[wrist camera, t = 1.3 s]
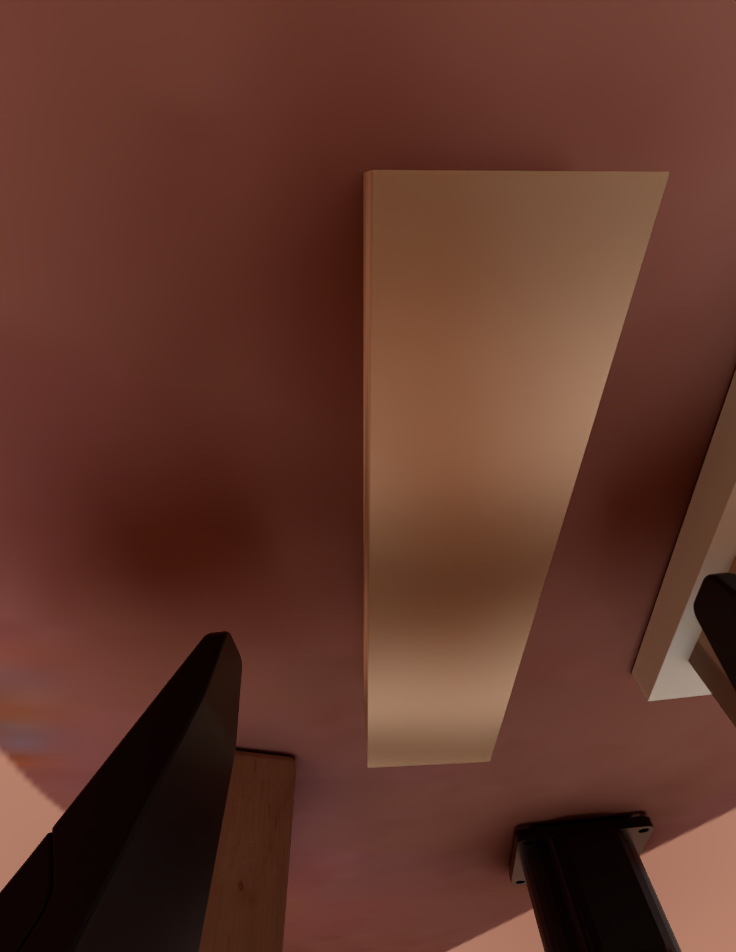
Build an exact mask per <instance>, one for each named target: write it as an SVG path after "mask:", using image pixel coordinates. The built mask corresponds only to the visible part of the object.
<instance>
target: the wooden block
mask: <svg viewBox="0 0 736 952" xmlns="http://www.w3.org/2000/svg"><path fill="white" fill-rule="evenodd" d="M295 777H296V766H295V761H294V759H293V758H291V757H288V756H280V755H271V754H262V753H254V752H245V751H237V750H235V756H234V762H233V768H232V773H231V779H230V784H229V790H228V795H227V801H226V806H225V812H224V817H223V822H222V828H221V833H220V839H219V844H218V850H217V855H216V861H215V866H214V872H213V877H212V882H211V888H210V893H209V899H208V904H207V910H206V915H205V921H204V926H203V931H202V937H201V942H200V948H199V952H282V950H283V937H284V924H285V910H286V897H287V884H288V870H289V857H290V844H291V830H292V817H293V804H294V791H295Z"/></svg>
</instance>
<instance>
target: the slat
mask: <svg viewBox="0 0 736 952" xmlns="http://www.w3.org/2000/svg"><path fill="white" fill-rule="evenodd" d="M669 173H670V172H628V171H481V170H370V171H367V172H363V546H364V701H365V723H366V746H367V768H374V767H394V766H413V765H433V764H452V763H472V762H490V760H491V757H492V753H493V750H494V747H495V744H496V740H497V737H498V734H499V730H500V727H501V724H502V721H503V717H504V714H505V711H506V708H507V704H508V701H509V698H510V694H511V691H512V688H513V685H514V681H515V678H516V675H517V671H518V668H519V665H520V662H521V658H522V655H523V652H524V649H525V645H526V642H527V639H528V635H529V632H530V629H531V626H532V622H533V619H534V616H535V612H536V609H537V606H538V603H539V599H540V596H541V593H542V590H543V586H544V583H545V580H546V576H547V573H548V570H549V567H550V563H551V560H552V557H553V553H554V550H555V547H556V544H557V540H558V537H559V534H560V531H561V527H562V524H563V521H564V517H565V514H566V511H567V508H568V504H569V501H570V498H571V495H572V491H573V488H574V485H575V481H576V478H577V475H578V472H579V468H580V465H581V462H582V458H583V455H584V452H585V449H586V445H587V442H588V439H589V436H590V432H591V429H592V426H593V422H594V419H595V416H596V413H597V409H598V406H599V403H600V399H601V396H602V393H603V390H604V386H605V383H606V380H607V377H608V373H609V370H610V367H611V363H612V360H613V357H614V354H615V350H616V347H617V344H618V340H619V337H620V334H621V331H622V327H623V324H624V321H625V318H626V314H627V311H628V308H629V304H630V301H631V298H632V295H633V291H634V288H635V285H636V281H637V278H638V275H639V272H640V268H641V265H642V262H643V259H644V255H645V252H646V249H647V245H648V242H649V239H650V236H651V232H652V229H653V226H654V222H655V219H656V216H657V213H658V209H659V206H660V203H661V200H662V196H663V193H664V190H665V186H666V183H667V180H668V177H669Z"/></svg>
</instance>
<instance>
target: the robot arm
mask: <svg viewBox="0 0 736 952" xmlns="http://www.w3.org/2000/svg"><path fill="white" fill-rule="evenodd" d="M693 609H694V613H695V616H696V619H697V620H698V622H699V624H700V626H701V628H702V630H703V632H704V634H705V636H706V637H707V639H708V641H709V643H710V645H711V647H712V649H713V651H714V653H715V654H716V656H717V658H718V660H719V662H720V664H721V666H722V668H723V670H724V672H725V673H726V675H727V677H728V679H729V681H730V683H731V685H732V686H733V688H734V690H735V692H736V574H734V573H729V572H725V573H716V574H709V575H707V576H706V577H705V578H704V579H703V581H702V584H701V586H700V588H699V591H698V593H697V596H696V598H695V601H694V604H693ZM241 674H242V662H241V657H240V654H239V652H238V650H237V647H236V645H235V643H234V641H233V638H232V636H231V634H230V633H229V632H227V631H223V632H214V633H209V634H207V635H206V636H204V637H203V639H202V640H201V641H200V642H199V644H198V645H197V646H196V647H195V649H194V650H193V651H192V652H191V654H190V655H189V656H188V658H187V659H186V660H185V661H184V663H183V664H182V665H181V666H180V668H179V669H178V670H177V671H176V673H175V674H174V675H173V676H172V678H171V679H170V680H169V681H168V683H167V684H166V685H165V687H164V688H163V689H162V690H161V692H160V693H159V694H158V695H157V697H156V698H155V699H154V700H153V702H152V703H151V704H150V705H149V707H148V708H147V709H146V710H145V712H144V713H143V714H142V716H141V717H140V718H139V719H138V721H137V722H136V723H135V724H134V726H133V727H132V728H131V729H130V731H129V732H128V733H127V734H126V736H125V737H124V738H123V740H122V741H121V742H120V743H119V745H118V746H117V747H116V748H115V750H114V751H113V752H112V753H111V755H110V756H109V757H108V758H107V760H106V761H105V762H104V763H103V765H102V766H101V767H100V769H99V770H98V771H97V772H96V774H95V775H94V776H93V777H92V779H91V780H90V781H89V782H88V784H87V785H86V786H85V787H84V789H83V790H82V791H81V792H80V794H79V795H78V796H77V798H76V799H75V800H74V801H73V803H72V804H71V805H70V806H69V808H68V809H67V810H66V811H65V813H64V814H63V815H62V816H61V818H60V819H59V820H58V821H57V823H56V824H55V825H54V827H53V829H52V833H48V834H47V835H46V836H45V838H44V839H43V840H42V841H41V843H40V844H39V845H38V847H37V848H36V849H35V850H34V851H33V853H32V854H31V855H30V857H29V858H28V859H27V860H26V862H25V863H24V864H23V865H22V866H21V868H20V869H19V870H18V871H17V873H16V874H15V875H14V876H13V878H12V879H11V880H10V881H9V882H8V884H7V885H6V886H5V887H4V888H3V890H2V891H1V892H0V952H199V948H200V942H201V937H202V931H203V926H204V921H205V915H206V910H207V904H208V899H209V893H210V888H211V882H212V877H213V872H214V866H215V861H216V855H217V850H218V844H219V839H220V833H221V828H222V822H223V817H224V812H225V806H226V801H227V795H228V790H229V784H230V779H231V773H232V768H233V762H234V756H235V748H236V738H237V725H238V712H239V699H240V686H241ZM653 831H654V826H653V824H652V822H651V820H650V818H649V817H646V816H640V817H631V818H622V819H612V820H603V821H594V822H584V823H575V824H566V825H556V826H547V827H538V828H528V829H522V830H519V831H518V832H516V834H515V839H514V845H513V851H512V857H511V864H510V870H509V876H510V881H511V884H512V885H527V887H528V891H529V895H530V899H531V902H532V906H533V910H534V914H535V918H536V921H537V925H538V929H539V932H540V936H541V940H542V944H543V947H544V951H545V952H681V950H680V947H679V945H678V943H677V940H676V938H675V936H674V933H673V931H672V929H671V927H670V924H669V922H668V920H667V918H666V915H665V913H664V911H663V909H662V906H661V904H660V902H659V899H658V897H657V895H656V893H655V890H654V888H653V886H652V884H651V881H650V879H649V877H648V875H647V872H646V870H645V868H644V866H643V863H642V861H641V859H640V854H641V852H642V850H643V848H644V847H645V845H646V843H647V841H648V840H649V838H650V836H651V834H652V833H653Z"/></svg>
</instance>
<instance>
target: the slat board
mask: <svg viewBox="0 0 736 952" xmlns="http://www.w3.org/2000/svg"><path fill="white" fill-rule="evenodd" d="M725 572H729V573H734V574H736V370H735V373H734V376H733V379H732V382H731V385H730V388H729V391H728V393H727V396H726V399H725V402H724V405H723V408H722V411H721V414H720V417H719V420H718V423H717V426H716V428H715V431H714V434H713V437H712V440H711V443H710V446H709V449H708V452H707V455H706V458H705V460H704V463H703V466H702V469H701V472H700V475H699V478H698V481H697V484H696V487H695V490H694V492H693V495H692V498H691V501H690V504H689V507H688V510H687V513H686V516H685V519H684V522H683V525H682V527H681V530H680V533H679V536H678V539H677V542H676V545H675V548H674V551H673V554H672V557H671V559H670V562H669V565H668V568H667V571H666V574H665V577H664V580H663V583H662V586H661V589H660V592H659V594H658V597H657V600H656V603H655V606H654V609H653V612H652V615H651V618H650V621H649V624H648V626H647V629H646V632H645V635H644V638H643V641H642V644H641V647H640V650H639V653H638V656H637V659H636V661H635V664H634V667H633V670H632V675H633V677H634V679H635V680H636V682H637V684H638V685H639V687H640V689H641V690H642V692H643V694H644V696H645V697H646V699H647V701H656V700H665V699H674V698H683V697H692V696H701V695H710V694H712V695H713V696H714V698H715V699H716V700H717V702H718V703H719V705H720V706H721V707H722V709H723V710H724V712H725V713H726V714H727V716H728V717H729V718H730V720H731V721H732V723H733V724H734V725H735V727H736V692H735V690H734V688H733V686H732V685H731V683H730V681H729V679H728V677H727V675H726V673H725V672H724V670H723V668H722V666H721V664H720V662H719V660H718V658H717V656H716V654H715V653H714V651H713V649H712V647H711V645H710V643H709V641H708V639H707V637H706V636H705V634H704V632H703V630H702V628H701V626H700V624H699V622H698V620H697V619H696V616H695V613H694V609H693V604H694V601H695V598H696V596H697V593H698V591H699V588H700V586H701V584H702V581H703V579H704V578H705V577H706V576H707V575H709V574H716V573H725Z"/></svg>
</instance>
